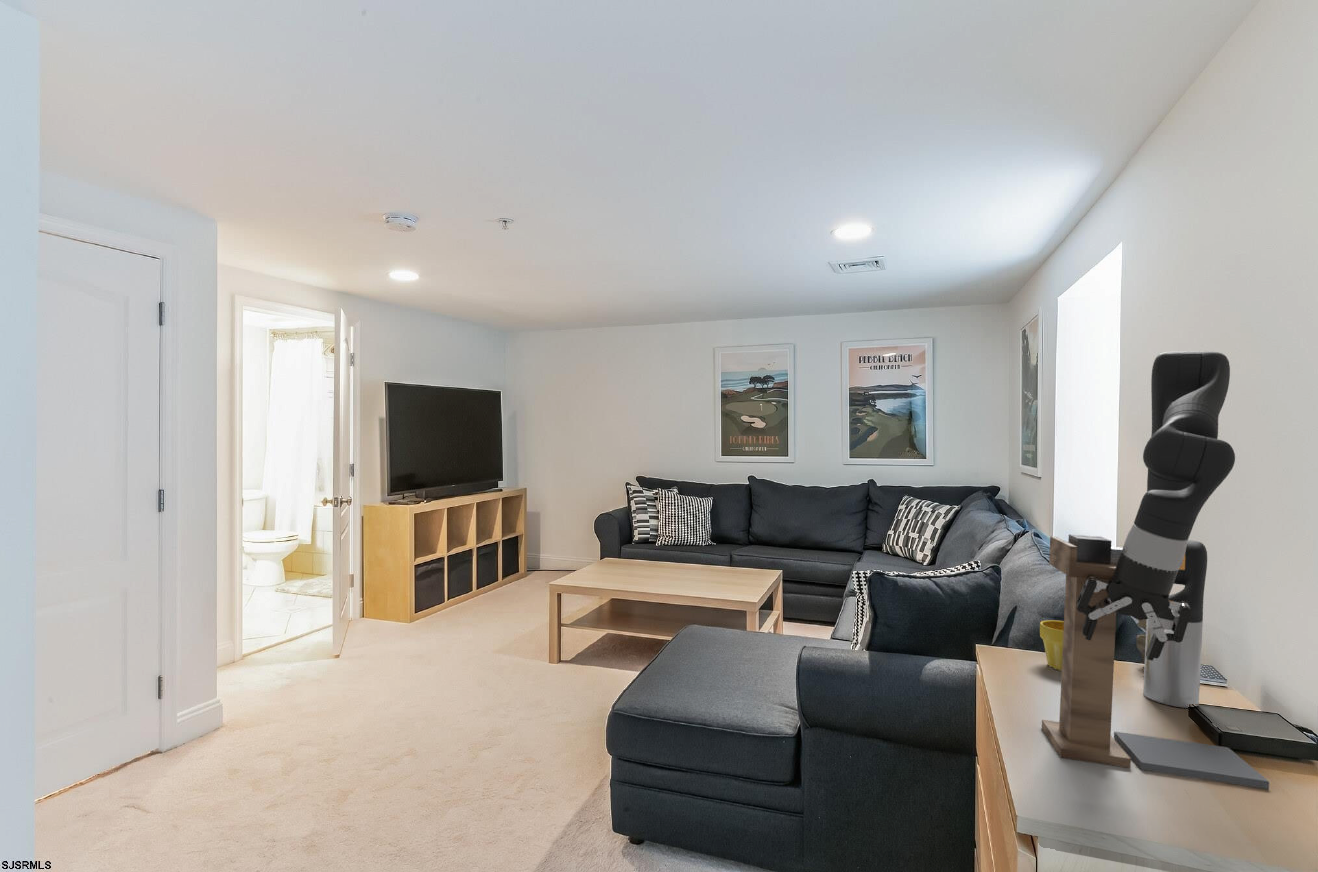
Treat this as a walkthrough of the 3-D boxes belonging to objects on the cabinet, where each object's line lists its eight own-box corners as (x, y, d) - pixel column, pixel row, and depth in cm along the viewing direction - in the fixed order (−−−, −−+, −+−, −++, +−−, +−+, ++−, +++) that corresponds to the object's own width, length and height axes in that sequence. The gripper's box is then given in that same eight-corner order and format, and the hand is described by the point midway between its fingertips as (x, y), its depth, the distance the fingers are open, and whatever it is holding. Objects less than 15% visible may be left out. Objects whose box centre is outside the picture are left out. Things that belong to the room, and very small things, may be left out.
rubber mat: (1113, 738, 121) (1114, 731, 121) (1227, 754, 116) (1228, 747, 116) (1141, 769, 110) (1141, 762, 110) (1268, 789, 105) (1269, 781, 105)
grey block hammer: (1067, 557, 120) (1068, 534, 120) (1173, 565, 116) (1174, 542, 116) (1076, 561, 115) (1077, 538, 115) (1187, 571, 111) (1188, 546, 111)
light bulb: (1168, 673, 158) (1171, 608, 158) (1141, 670, 159) (1144, 606, 159) (1155, 665, 163) (1158, 602, 163) (1130, 662, 164) (1132, 600, 164)
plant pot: (1031, 666, 159) (1033, 624, 159) (1046, 657, 166) (1048, 617, 166) (1081, 679, 151) (1083, 635, 151) (1095, 669, 159) (1097, 627, 158)
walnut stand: (1041, 727, 124) (1050, 536, 124) (1104, 736, 121) (1113, 540, 121) (1060, 757, 113) (1070, 546, 112) (1130, 768, 110) (1140, 551, 110)
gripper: (1201, 564, 106) (1166, 654, 110) (1096, 535, 112) (1067, 622, 116) (1211, 581, 99) (1173, 676, 104) (1099, 550, 105) (1068, 641, 110)
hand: (1117, 647), depth 110 cm, fingers open, 8 cm apart
